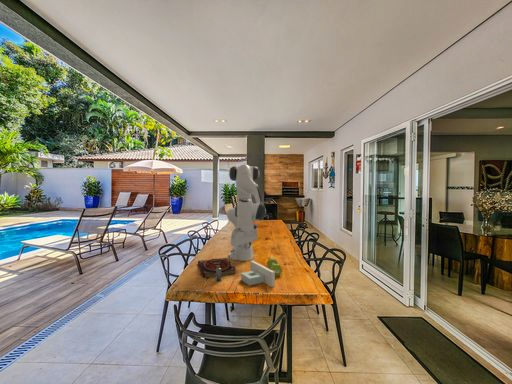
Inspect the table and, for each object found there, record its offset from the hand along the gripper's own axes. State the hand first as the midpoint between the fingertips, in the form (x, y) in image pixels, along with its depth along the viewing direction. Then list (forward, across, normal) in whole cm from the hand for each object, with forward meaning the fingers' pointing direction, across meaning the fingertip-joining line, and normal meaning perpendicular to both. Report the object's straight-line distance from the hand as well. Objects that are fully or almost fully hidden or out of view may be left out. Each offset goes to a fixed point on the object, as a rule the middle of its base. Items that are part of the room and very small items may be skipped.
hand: (244, 251), depth 144 cm
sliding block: (+19, +5, -2) cm, 19 cm away
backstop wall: (+19, +11, -5) cm, 22 cm away
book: (+20, +8, +31) cm, 37 cm away
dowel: (+19, -6, +14) cm, 24 cm away
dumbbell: (+19, +26, -4) cm, 33 cm away
